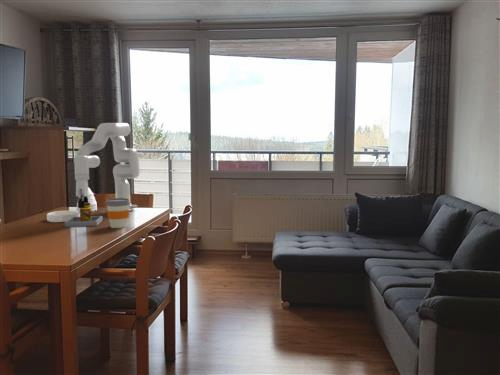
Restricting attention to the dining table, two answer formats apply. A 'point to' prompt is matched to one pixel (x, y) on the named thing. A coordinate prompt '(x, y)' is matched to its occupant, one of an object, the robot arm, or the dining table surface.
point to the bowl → (61, 216)
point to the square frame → (94, 222)
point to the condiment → (85, 213)
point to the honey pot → (90, 201)
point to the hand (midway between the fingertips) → (83, 206)
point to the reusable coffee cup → (118, 212)
